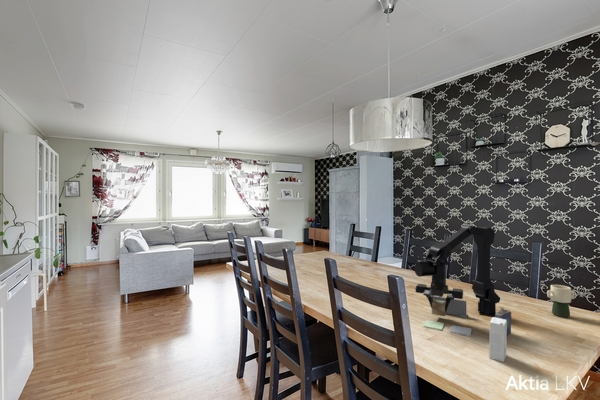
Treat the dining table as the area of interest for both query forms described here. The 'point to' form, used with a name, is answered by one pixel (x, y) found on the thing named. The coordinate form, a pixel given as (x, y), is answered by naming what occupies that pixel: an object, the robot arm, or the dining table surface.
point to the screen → (455, 306)
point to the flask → (507, 316)
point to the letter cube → (438, 307)
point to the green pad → (433, 325)
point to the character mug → (560, 299)
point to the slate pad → (461, 330)
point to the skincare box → (498, 339)
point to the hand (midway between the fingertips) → (439, 310)
